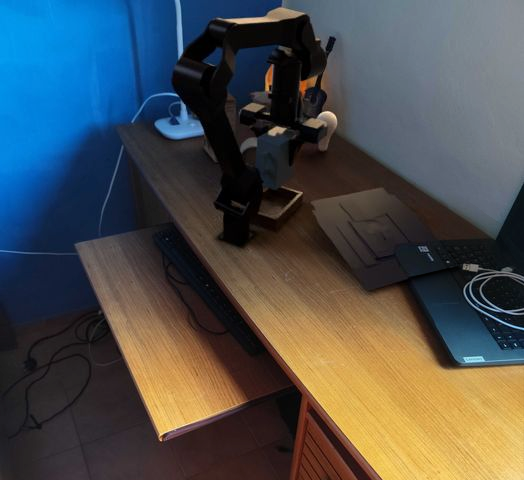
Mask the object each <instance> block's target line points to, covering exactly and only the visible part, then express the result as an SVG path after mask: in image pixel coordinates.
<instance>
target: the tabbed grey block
mask: <svg viewBox="0 0 524 480" xmlns="http://www.w3.org/2000/svg"><path fill="white" fill-rule="evenodd" d="M295 135H296V131H294V130H290V129H287V128H283V127H278V126H276V127H275V128H273V129H271V130H270V131H268V132H266V133H265V134H263V135H261V136H260V137H258V138H257V152H256V168H258V170H259V171H260V176H261V179H262V180H263V181H264V183H262V185H263V187H268V188H271V189H273V190H276V189H278V188H279V187H280V186H284V185H285V184H286V183H288V182H289V181H290V180H291V179H293V178H294V173H295V167H296V160H295V161H294V163H293V165H292V166H289V153H290V139H291V138H293V137H294V136H295Z"/></svg>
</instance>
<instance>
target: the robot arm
mask: <svg viewBox="0 0 524 480" xmlns="http://www.w3.org/2000/svg"><path fill="white" fill-rule="evenodd" d="M269 46H270V47H271V46H279V47H283V48H287V49H285V50H284V49H280V48H277V47H276V48H275V47H274V49H273V51H272V52H271V53H270V54H269V55H268V57H267V58H266V63H267V64H270V65H272V73H271V85H272V87H271V92H269V93H268V99H271V103H270V113H267V108H266V106H263V105H259V104H255V103H254V102H251V103H249V104H247V105H245V106H243V107H242V108H241V109H240V110H239V112H238V123H239V124H241V125H244V126H248V127H249V130H250V131H252V132H253V134H254V135H255V137H257V138H258V137H260V136H261V135H263V134H265V133H266V132H268V131H270V130H271V129H272V127H273V125H276V126H279V127H281V128H287V129H290V130H294V132H296V135H295V136H294V137H293V138H291V139H290V153H289V166H292V165H293V163H294V161H295V162H296V160H297V157H298V155H299V153H300V150H301V148H302V147H303V145H305V144H306V143H309V144H313V145H317V144H319V141H321V140H322V139H323V138H324V137H325V136H327V130H328V126H327V124H326V122H324V121H321V120H317V118H313V117H310V118H309V119H308V120H306V121H305V122H304V121H300V120H297V119H300V118H302V117H303V116H307V114H308V109H309V106H310V101H311V100H310V99H307V98H304V97H303V90H302V89H300V88H301V82H305V81H307V80H310V79H312V78H315V77H318V76H320V75H321V74H323V73H324V72H325V70H326V69H327V65H328V59H327V54H326V51H325V49H324V48H323V47H322V39H320V38H316V34H315V31H314V27H313V24H312V23H311V16H310V14H308V13H305V12H300V11H297V10H293V9H288V8H284V7H277V8H275V9H272V10H270V11H268V12H267V14H266V15H265V16H262V17H261V16H259V17H243V18H226V19H225V18H220V17H216V18H213V19H211V20H210V21H209V22H208V23H207V26H206V27H205V29H204V31H203V32H202V33H200V34H199V35H198V36H197V37H196V38H194V39H193V40H192V41H191V42H190V43H189V44H187V45H186V46H185V47H184V49H183V51H182V53H181V54H180V56H179V58H178V60H177V62H176V64H175V65H174V67H173V70H172V74H171V78H170V81H171V85H172V89H173V91H174V92H175V94H176V95H177V97H178V98H179V100H180V101H181V102H182V103H183V105H184V106H186V108H188V109H189V111H191V112H192V113H193V114H194V115H195V116H196V117H197V119H198V121H199V122H200V126H201V127H202V130H203V133H204V132H205V134H206V136H207V139H208V141H209V143H210V145H211V148H212V150H213V152H214V154H215V157H216V159H217V161H218V162H217V163H218V166H219V167H220V169H221V173H222V175H221V178H220V181H219V183H220V187H219V190H218V192H217V194H216V196H215V197H214V200H213V206H214V209H215V210H217V211H220V212H222V213H223V215H222V231H221V232H220V233H219V234H218V235H217V239H218V240H221V241H222V242H226V243H228V244H231V245H235V246H237V247H240V248H242V247H244V246H245V245H246V244H247V243H249V241H250V240H251V239H252V238H253V237H254V236H255V235H256V231H255V230H253V229H250V220H251V219H252V218H254V217H255V216H257V215H258V213H259V209H260V205H261V201H262V198H263V189H264V186H263V185H262V183H264V181H263V180H262V179H261V176H260V171H259V170H258V168H256V167H253V166H251V165H248V164H246V163H245V162H244V159H243V156H242V154H241V151H240V148H241V147H239V143H238V140H237V137H236V134H235V135H234V132H233V130H232V127H231V124H230V122H229V119H228V116H227V114H226V111H225V104H226V101H227V97H228V93H229V92H228V86H229V84H230V83H231V82H232V81H231V80H232V79H233V77H234V75H235V67H236V56H237V54H238V53H239V50H244V49H245V50H246V49H253V48H260V47H269ZM217 49H220V50H222V53H221V59H220V61H219V63H218V64H217V65H214V64H211V63H208V62H205V59H207V58H209V57H210V56H211V55H212V54H214V52H215V51H216V50H217Z"/></svg>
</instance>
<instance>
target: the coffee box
mask: <svg viewBox="0 0 524 480" xmlns="http://www.w3.org/2000/svg"><path fill="white" fill-rule="evenodd" d="M236 107H237V100H236V98H235V97H234V96H233V95H232V94H231V93H230V92H228V97H227V101H226V104H225V111H226V114H227V116H228V119H229V122H230V124H231V127H232V130H233V132H234V135H235V136H236V122H237V121H236V120H237V119H236V114H237V113H236V112H237V111H236V110H237V108H236ZM203 145H204V150H205V152H206V153H207V154H208V156H209V157H210V158H211V159H212V160H213V162H214V163H218V161H217V159H216V157H215V154H214V152H213V150H212V148H211V145H210V143H209V141H208V139H207V136H206V134H205V132H204V131H203Z"/></svg>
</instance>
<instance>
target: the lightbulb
mask: <svg viewBox="0 0 524 480" xmlns="http://www.w3.org/2000/svg"><path fill="white" fill-rule="evenodd" d="M316 119H317V120H321V121H324V122H326V124H327V126H328V130H327V136H325V137H324V138H323V139H322V140H321V141H319V142H318V151H320V152H326V151H327V150H328V146H329V143H330V140H331V137H332V135H333V134H334V132H335V131H336V129H337V127H338V119H337V117H336V115H335V114H334V113H333V112H331V111H323V112H321V113H319V114H318V116H317V117H316Z"/></svg>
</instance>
